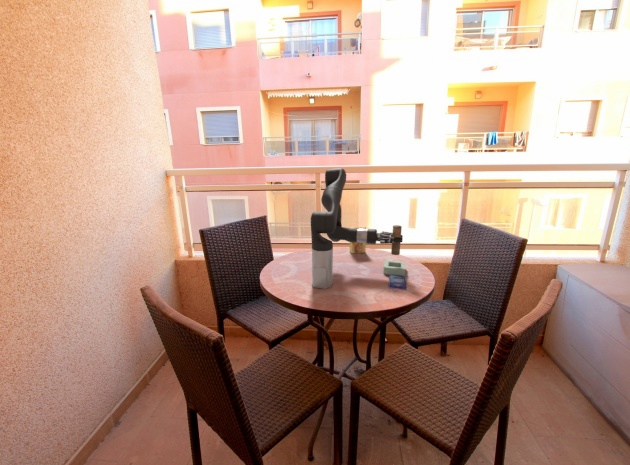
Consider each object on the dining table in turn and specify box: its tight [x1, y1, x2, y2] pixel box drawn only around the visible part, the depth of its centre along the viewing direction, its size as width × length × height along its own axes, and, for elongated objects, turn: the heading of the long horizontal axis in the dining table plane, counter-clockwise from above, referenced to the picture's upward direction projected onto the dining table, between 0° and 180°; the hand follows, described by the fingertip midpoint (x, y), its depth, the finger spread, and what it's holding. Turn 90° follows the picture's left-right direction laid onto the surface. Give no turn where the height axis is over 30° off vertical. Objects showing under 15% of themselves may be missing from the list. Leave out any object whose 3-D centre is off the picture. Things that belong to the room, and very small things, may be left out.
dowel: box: [390, 224, 403, 256], centre depth 142 cm, size 4×4×14 cm
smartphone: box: [388, 274, 407, 291], centre depth 134 cm, size 7×1×15 cm
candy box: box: [349, 226, 367, 254], centre depth 174 cm, size 9×4×15 cm, turn 103°
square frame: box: [383, 260, 406, 277], centre depth 146 cm, size 10×10×4 cm
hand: (402, 238), depth 141 cm, fingers closed on dowel, 4 cm apart
